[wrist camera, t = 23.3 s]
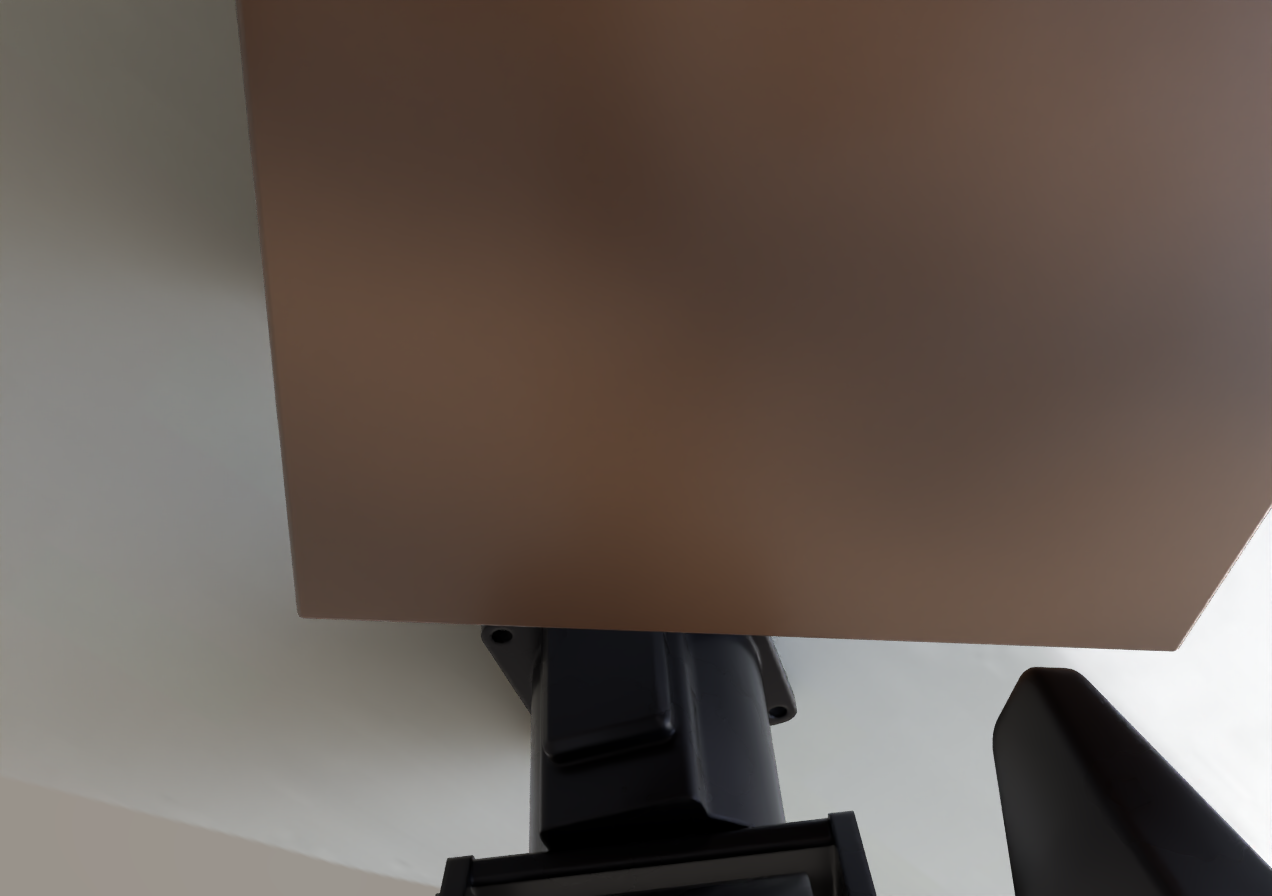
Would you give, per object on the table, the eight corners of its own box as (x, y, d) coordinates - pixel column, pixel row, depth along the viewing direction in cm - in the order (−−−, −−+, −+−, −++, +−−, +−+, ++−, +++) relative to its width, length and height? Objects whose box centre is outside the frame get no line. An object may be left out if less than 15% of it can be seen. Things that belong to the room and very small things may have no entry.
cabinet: (324, -634, 14) (166, -659, 8) (1384, -462, 16) (1866, -385, 10) (360, 317, 23) (296, 621, 17) (1032, 362, 24) (1177, 654, 19)
